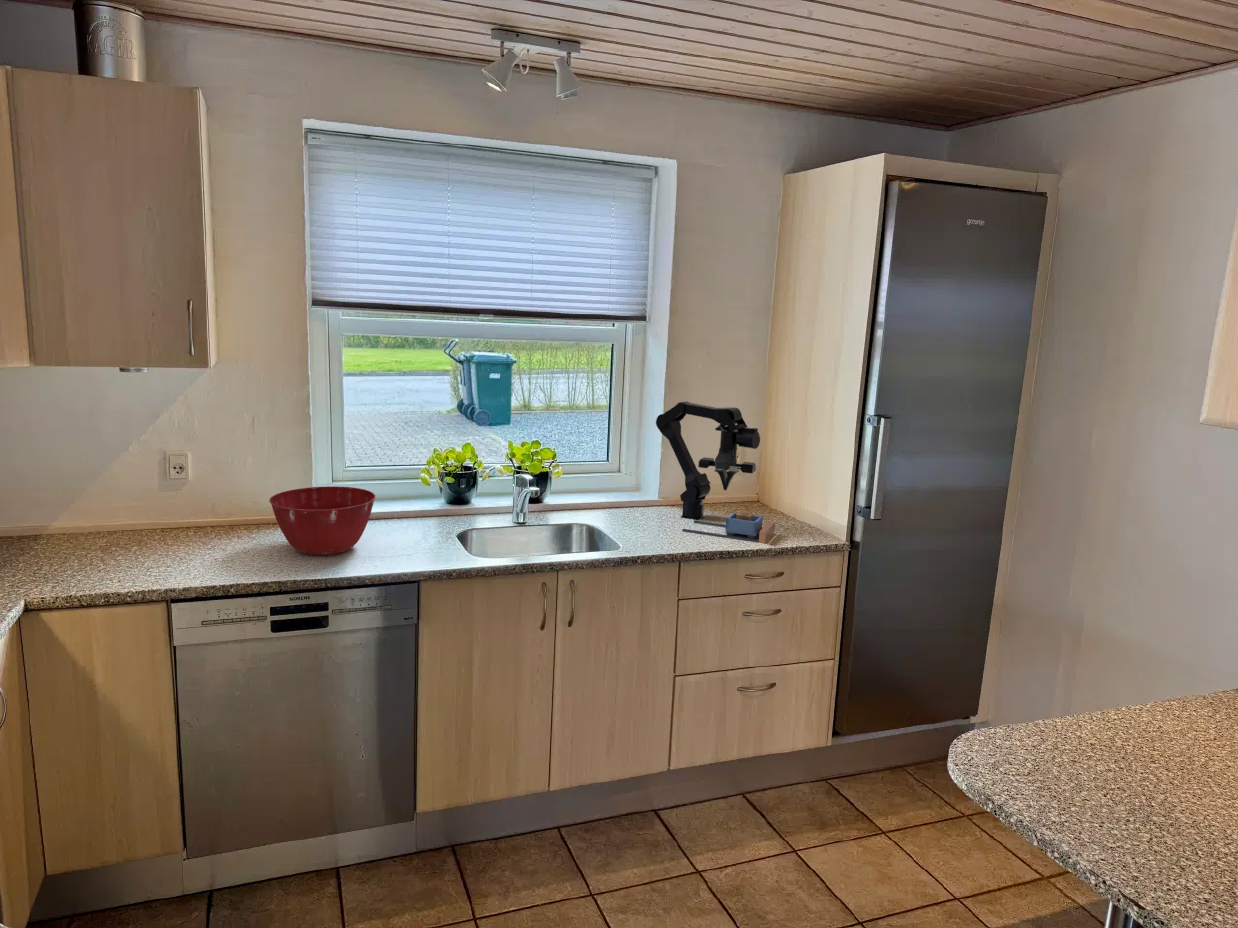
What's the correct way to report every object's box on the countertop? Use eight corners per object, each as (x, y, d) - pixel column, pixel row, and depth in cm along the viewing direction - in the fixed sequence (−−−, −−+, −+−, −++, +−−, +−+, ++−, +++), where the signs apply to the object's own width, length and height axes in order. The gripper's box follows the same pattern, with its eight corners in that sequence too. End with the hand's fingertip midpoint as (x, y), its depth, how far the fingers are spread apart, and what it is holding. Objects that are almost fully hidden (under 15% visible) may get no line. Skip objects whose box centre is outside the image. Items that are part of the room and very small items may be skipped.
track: (682, 532, 285) (682, 520, 285) (694, 523, 298) (695, 511, 297) (764, 544, 276) (765, 532, 275) (773, 534, 288) (774, 522, 288)
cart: (725, 535, 283) (726, 518, 282) (731, 529, 291) (733, 512, 290) (755, 539, 279) (756, 522, 278) (761, 533, 287) (762, 516, 286)
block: (735, 528, 283) (736, 514, 283) (738, 525, 287) (739, 512, 287) (748, 530, 282) (749, 516, 281) (752, 527, 286) (753, 513, 285)
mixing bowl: (287, 569, 228) (286, 512, 226) (258, 543, 251) (257, 490, 248) (390, 555, 245) (390, 502, 242) (355, 531, 267) (354, 482, 265)
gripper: (695, 445, 289) (692, 491, 292) (750, 451, 283) (746, 497, 286) (704, 440, 300) (701, 485, 302) (757, 446, 293) (754, 491, 296)
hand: (725, 490), depth 296 cm, fingers closed
